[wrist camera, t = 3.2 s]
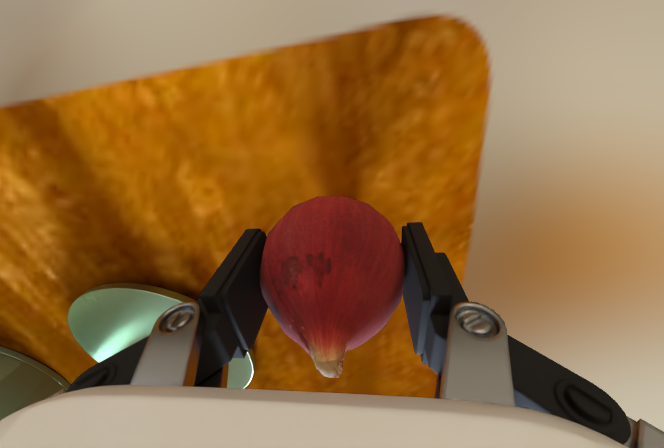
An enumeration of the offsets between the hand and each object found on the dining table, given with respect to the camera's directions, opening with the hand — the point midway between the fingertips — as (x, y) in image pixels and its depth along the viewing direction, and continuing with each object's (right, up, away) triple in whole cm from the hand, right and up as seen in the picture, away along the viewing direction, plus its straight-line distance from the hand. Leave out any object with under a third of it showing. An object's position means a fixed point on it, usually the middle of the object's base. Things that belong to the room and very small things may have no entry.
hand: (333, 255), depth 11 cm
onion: (0, +2, +3) cm, 3 cm away
